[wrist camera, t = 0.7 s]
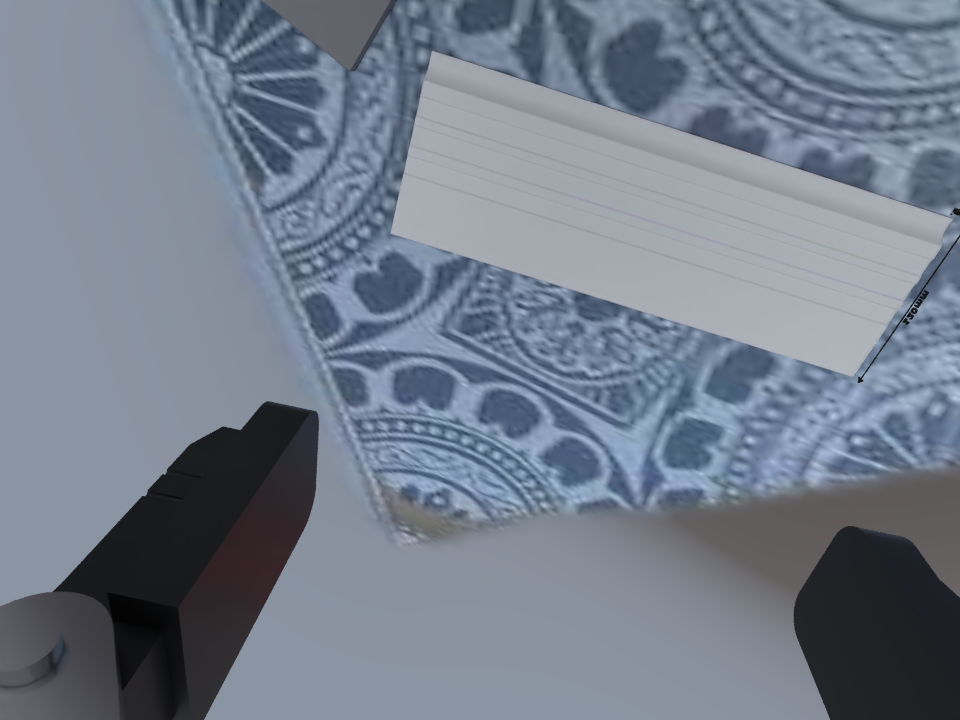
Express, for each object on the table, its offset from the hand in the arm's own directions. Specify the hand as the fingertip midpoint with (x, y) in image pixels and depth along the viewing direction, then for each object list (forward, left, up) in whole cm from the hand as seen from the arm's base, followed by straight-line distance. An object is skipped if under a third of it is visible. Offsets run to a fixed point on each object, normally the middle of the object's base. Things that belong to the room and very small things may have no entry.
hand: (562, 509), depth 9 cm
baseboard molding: (-2, +7, -30) cm, 31 cm away
